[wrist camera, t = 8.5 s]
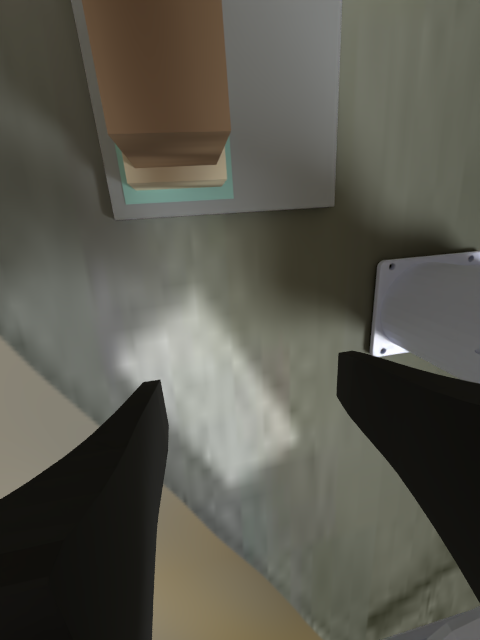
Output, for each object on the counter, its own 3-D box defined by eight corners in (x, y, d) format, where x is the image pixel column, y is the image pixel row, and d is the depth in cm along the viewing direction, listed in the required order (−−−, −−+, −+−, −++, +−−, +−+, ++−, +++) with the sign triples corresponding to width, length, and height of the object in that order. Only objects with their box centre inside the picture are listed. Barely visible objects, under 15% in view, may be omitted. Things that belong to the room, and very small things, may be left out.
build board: (337, -75, 15) (346, -93, 14) (328, 207, 19) (335, 206, 18) (54, -104, 13) (44, -128, 12) (117, 220, 17) (114, 219, 16)
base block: (213, 86, 15) (218, 59, 13) (221, 186, 17) (227, 179, 14) (118, 85, 14) (104, 56, 12) (136, 190, 16) (127, 183, 14)
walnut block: (207, 68, 13) (220, -27, 8) (216, 164, 14) (231, 131, 9) (117, 67, 12) (74, -36, 8) (135, 168, 13) (107, 134, 9)
